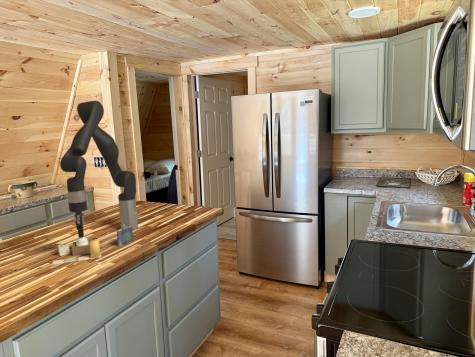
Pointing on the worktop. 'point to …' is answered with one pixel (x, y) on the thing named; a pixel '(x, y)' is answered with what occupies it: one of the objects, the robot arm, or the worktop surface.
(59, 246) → the die
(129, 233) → the navy rounded piece
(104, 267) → the worktop surface
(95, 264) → the worktop surface
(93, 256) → the yellow rounded oblong piece
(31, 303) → the worktop surface
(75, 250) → the board
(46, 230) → the worktop surface
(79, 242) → the white rounded egg-shaped piece
